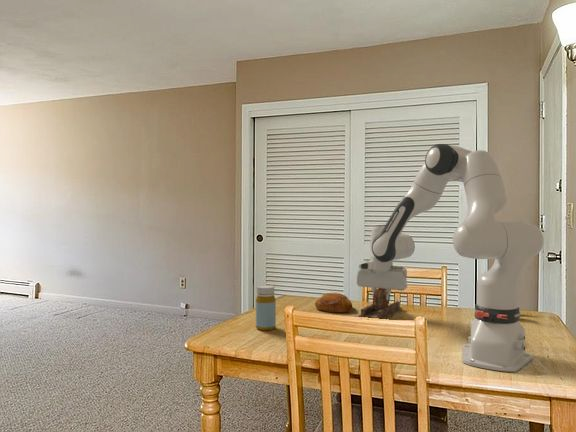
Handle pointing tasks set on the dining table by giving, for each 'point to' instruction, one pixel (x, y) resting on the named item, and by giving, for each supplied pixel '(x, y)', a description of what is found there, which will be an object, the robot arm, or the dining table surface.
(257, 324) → the bottle
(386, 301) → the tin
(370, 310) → the rack
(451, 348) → the dining table surface
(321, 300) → the round bread loaf
